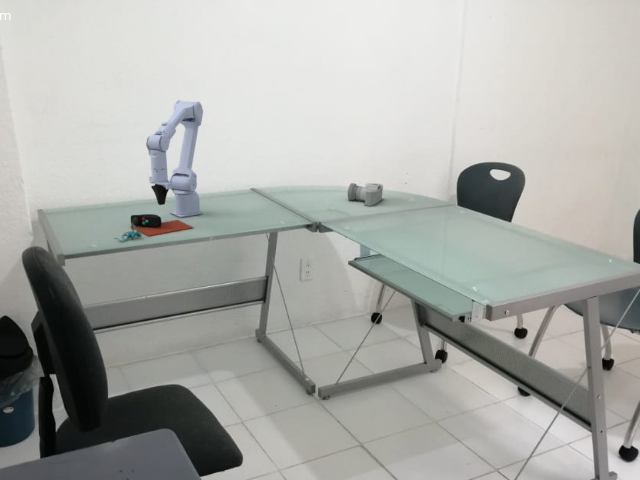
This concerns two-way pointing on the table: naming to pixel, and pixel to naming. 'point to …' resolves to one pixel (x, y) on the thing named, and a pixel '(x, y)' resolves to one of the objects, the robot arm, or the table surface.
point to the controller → (146, 220)
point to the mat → (164, 228)
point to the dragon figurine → (131, 233)
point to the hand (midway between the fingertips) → (161, 204)
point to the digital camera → (366, 193)
